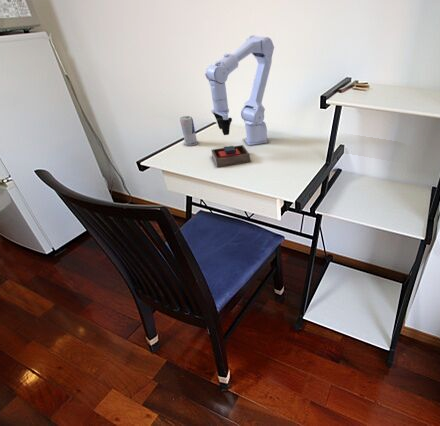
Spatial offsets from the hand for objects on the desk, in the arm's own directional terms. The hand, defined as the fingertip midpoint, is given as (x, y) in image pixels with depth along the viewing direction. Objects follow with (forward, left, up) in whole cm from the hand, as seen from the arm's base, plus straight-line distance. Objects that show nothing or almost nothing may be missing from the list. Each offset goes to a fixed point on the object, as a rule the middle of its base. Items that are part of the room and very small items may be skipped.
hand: (224, 131), depth 129 cm
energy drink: (+13, -15, -10) cm, 22 cm away
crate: (0, +8, -9) cm, 12 cm away
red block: (+1, +6, -6) cm, 8 cm away
